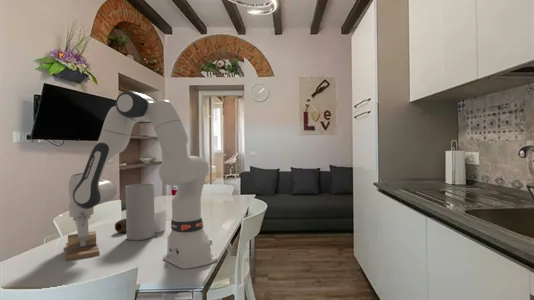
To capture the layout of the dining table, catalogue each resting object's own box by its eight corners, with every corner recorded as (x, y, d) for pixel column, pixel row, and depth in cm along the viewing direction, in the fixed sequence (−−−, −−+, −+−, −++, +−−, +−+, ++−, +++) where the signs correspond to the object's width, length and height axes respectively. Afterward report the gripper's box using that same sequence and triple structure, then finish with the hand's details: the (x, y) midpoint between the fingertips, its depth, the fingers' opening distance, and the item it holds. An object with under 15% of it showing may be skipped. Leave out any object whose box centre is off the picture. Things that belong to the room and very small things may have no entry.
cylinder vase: (144, 241, 138) (143, 187, 138) (120, 240, 141) (119, 186, 141) (159, 233, 151) (158, 183, 150) (137, 233, 153) (136, 183, 153)
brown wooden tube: (125, 234, 151) (125, 221, 151) (113, 233, 153) (113, 220, 153) (143, 226, 166) (143, 214, 166) (132, 226, 167) (132, 214, 167)
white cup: (169, 228, 161) (168, 209, 161) (162, 232, 153) (162, 213, 153) (154, 228, 161) (154, 209, 161) (147, 232, 154) (147, 212, 153)
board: (99, 254, 122) (99, 251, 122) (66, 260, 116) (66, 256, 116) (94, 241, 139) (94, 238, 139) (66, 246, 133) (66, 243, 133)
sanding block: (96, 245, 129) (96, 233, 129) (68, 250, 123) (67, 237, 123) (95, 242, 133) (95, 231, 133) (68, 247, 127) (67, 235, 127)
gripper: (92, 214, 121) (93, 248, 121) (88, 206, 138) (89, 236, 138) (73, 216, 118) (74, 251, 118) (72, 208, 135) (73, 239, 135)
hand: (82, 243), depth 128 cm, fingers closed on sanding block, 5 cm apart
